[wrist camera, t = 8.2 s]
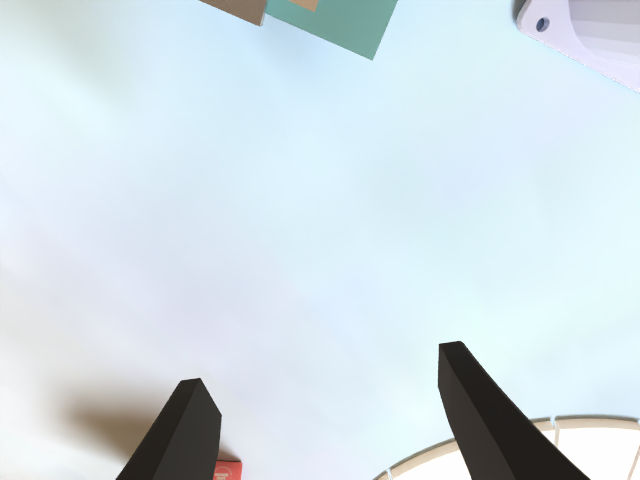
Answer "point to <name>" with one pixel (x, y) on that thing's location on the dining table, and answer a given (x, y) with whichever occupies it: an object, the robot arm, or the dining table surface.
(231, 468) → the ink cartridge box
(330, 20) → the stand
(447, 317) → the dining table surface
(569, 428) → the lazy susan
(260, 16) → the block
